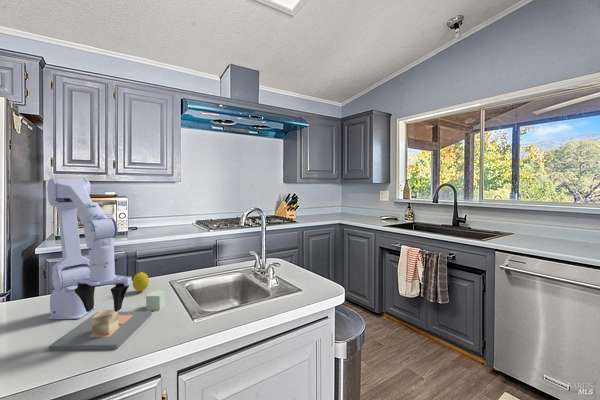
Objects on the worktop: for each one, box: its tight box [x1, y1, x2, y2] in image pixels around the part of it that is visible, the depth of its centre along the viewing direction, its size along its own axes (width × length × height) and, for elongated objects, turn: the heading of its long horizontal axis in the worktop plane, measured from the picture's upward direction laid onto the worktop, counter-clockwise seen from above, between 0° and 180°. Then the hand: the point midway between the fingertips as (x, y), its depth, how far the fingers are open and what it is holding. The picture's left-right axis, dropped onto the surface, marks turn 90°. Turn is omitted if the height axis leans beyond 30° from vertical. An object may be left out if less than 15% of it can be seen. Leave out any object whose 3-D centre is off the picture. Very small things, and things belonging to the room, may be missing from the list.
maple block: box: [92, 309, 119, 335], centre depth 81 cm, size 4×4×5 cm
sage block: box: [145, 290, 166, 311], centre depth 99 cm, size 4×4×5 cm
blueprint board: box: [48, 310, 152, 351], centre depth 83 cm, size 17×19×1 cm
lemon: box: [132, 271, 150, 293], centre depth 112 cm, size 6×6×8 cm
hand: (104, 310), depth 80 cm, fingers open, 7 cm apart
